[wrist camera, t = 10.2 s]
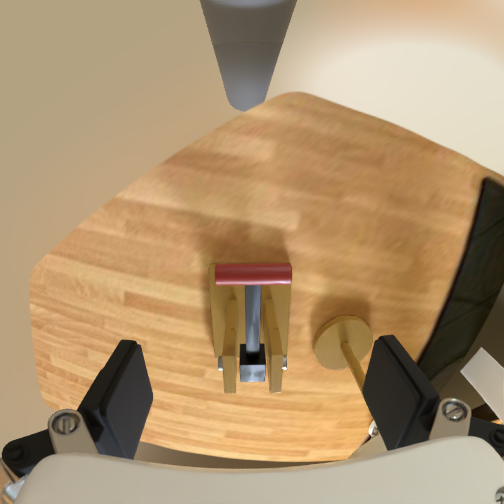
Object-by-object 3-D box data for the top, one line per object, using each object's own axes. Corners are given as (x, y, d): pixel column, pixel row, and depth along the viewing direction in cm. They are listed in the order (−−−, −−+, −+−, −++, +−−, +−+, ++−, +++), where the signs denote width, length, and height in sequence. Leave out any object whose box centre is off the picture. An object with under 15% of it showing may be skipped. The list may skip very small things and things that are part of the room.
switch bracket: (209, 263, 33) (192, 314, 22) (290, 263, 33) (312, 312, 22) (215, 352, 36) (206, 419, 25) (285, 351, 36) (299, 417, 25)
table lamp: (308, 310, 35) (380, 498, 11) (382, 305, 35) (496, 448, 11) (302, 373, 38) (342, 540, 14) (368, 366, 38) (440, 508, 14)
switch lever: (216, 255, 20) (213, 276, 18) (289, 254, 20) (293, 276, 18) (225, 361, 27) (224, 382, 25) (278, 360, 27) (280, 381, 25)
